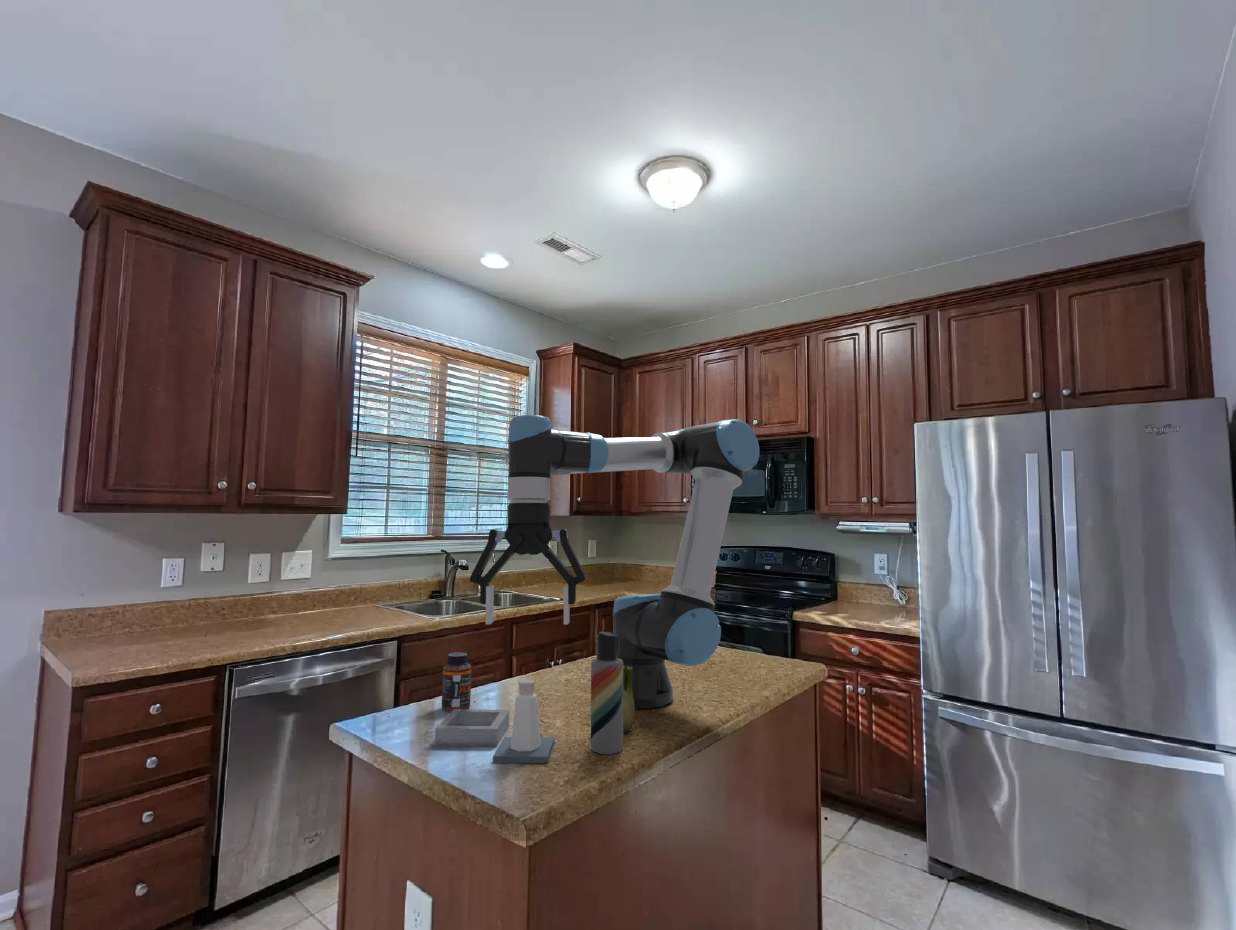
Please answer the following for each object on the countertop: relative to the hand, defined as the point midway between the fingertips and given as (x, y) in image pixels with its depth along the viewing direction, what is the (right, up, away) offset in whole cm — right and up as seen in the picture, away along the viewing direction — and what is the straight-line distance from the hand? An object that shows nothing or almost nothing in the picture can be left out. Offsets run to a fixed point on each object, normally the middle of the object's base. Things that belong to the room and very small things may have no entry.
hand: (528, 623), depth 106 cm
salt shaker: (0, -21, -2) cm, 21 cm away
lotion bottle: (+14, -22, -1) cm, 26 cm away
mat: (0, -22, -2) cm, 22 cm away
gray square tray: (-11, -22, +6) cm, 26 cm away
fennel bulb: (+16, -23, +8) cm, 29 cm away
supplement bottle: (-19, -24, +22) cm, 38 cm away
